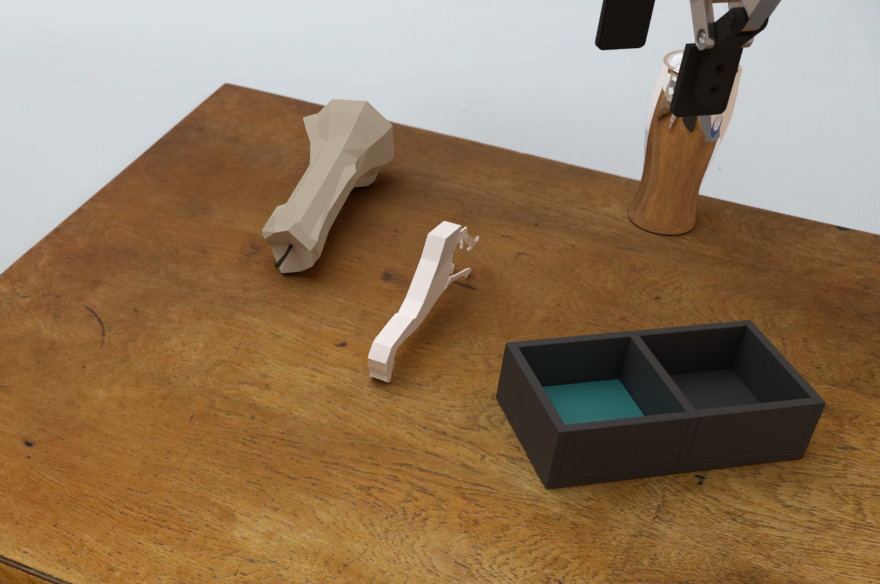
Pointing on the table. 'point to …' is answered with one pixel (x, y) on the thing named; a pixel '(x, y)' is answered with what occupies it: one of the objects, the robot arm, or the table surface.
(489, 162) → the table surface
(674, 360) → the divided box
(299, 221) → the faceted club
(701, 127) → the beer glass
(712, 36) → the robot arm
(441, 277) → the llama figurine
